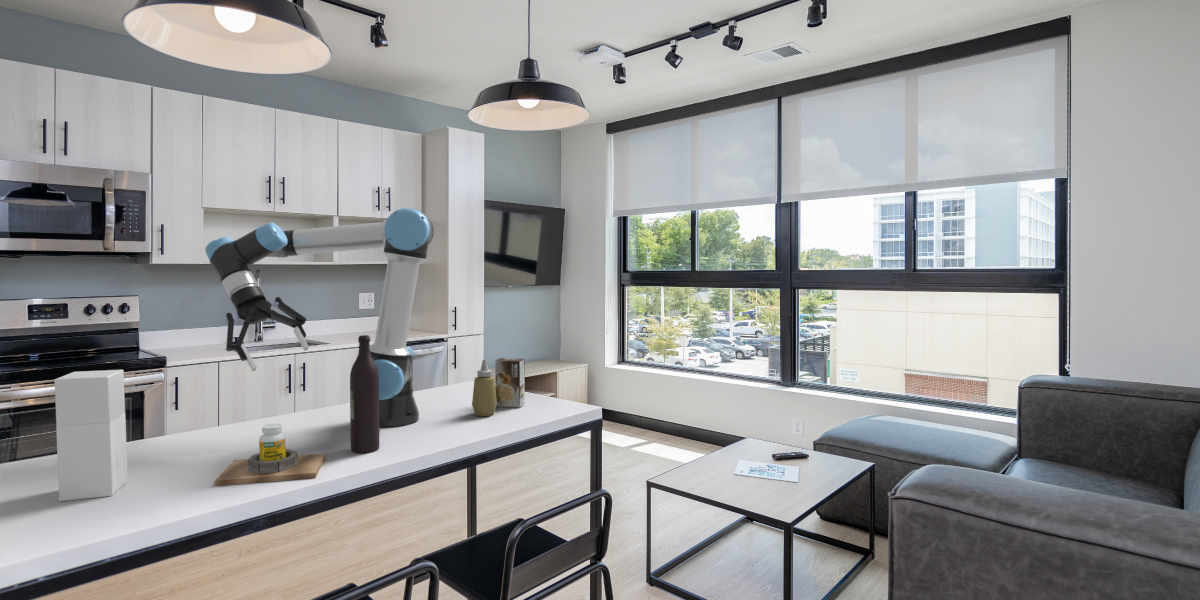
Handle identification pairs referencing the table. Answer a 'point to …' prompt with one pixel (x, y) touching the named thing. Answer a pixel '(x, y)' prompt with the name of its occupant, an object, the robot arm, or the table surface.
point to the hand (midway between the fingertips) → (281, 359)
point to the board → (271, 469)
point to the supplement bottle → (272, 443)
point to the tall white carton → (90, 434)
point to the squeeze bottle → (484, 392)
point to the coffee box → (510, 382)
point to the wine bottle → (364, 400)
